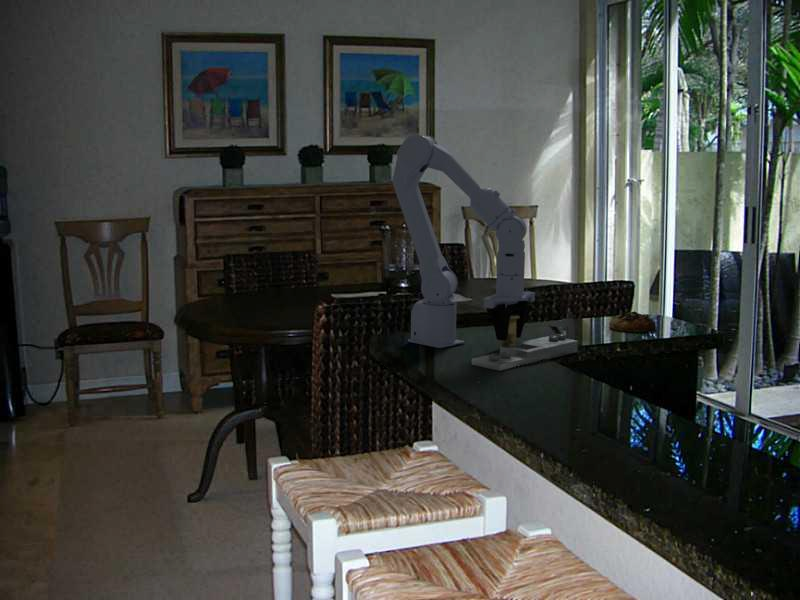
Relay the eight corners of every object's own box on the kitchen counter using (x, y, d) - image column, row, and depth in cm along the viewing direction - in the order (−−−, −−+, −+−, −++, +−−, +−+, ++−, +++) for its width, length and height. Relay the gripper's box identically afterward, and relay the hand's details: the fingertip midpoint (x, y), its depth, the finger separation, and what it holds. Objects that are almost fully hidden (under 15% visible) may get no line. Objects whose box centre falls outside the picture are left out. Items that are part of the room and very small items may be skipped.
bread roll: (666, 331, 219) (664, 310, 218) (626, 340, 215) (624, 319, 214) (637, 324, 229) (635, 304, 228) (598, 334, 225) (596, 313, 224)
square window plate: (471, 364, 182) (471, 354, 182) (522, 353, 193) (522, 343, 193) (499, 370, 177) (500, 360, 177) (549, 358, 188) (550, 348, 188)
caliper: (573, 342, 206) (574, 314, 205) (568, 342, 206) (569, 314, 205) (553, 325, 226) (554, 299, 225) (548, 325, 226) (549, 299, 225)
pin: (493, 347, 199) (494, 314, 198) (506, 344, 202) (507, 312, 201) (510, 350, 196) (510, 317, 195) (523, 347, 199) (524, 314, 198)
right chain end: (499, 358, 188) (499, 342, 188) (549, 346, 200) (550, 332, 199) (527, 364, 183) (528, 347, 183) (577, 352, 195) (578, 336, 194)
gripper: (503, 279, 188) (501, 346, 191) (547, 273, 199) (545, 336, 201) (476, 275, 193) (474, 340, 196) (520, 269, 203) (518, 332, 206)
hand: (508, 338), depth 198 cm, fingers closed on pin, 4 cm apart
